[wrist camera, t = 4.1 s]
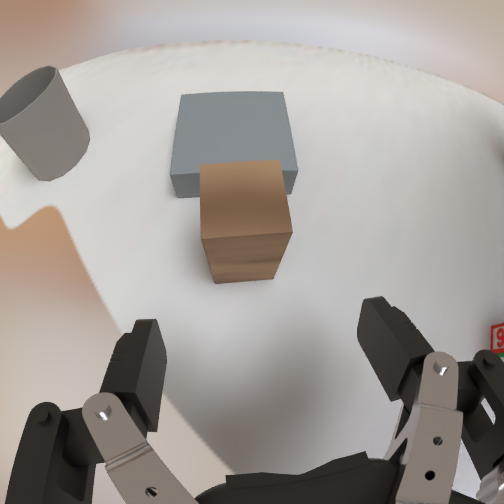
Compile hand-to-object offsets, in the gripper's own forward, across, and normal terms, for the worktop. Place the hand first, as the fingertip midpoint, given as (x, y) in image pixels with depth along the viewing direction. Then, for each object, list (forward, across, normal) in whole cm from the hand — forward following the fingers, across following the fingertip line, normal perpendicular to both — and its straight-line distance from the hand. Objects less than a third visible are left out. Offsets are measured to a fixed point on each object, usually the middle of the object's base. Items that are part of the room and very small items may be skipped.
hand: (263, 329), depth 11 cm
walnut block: (+13, 0, +3) cm, 13 cm away
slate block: (+20, 0, -4) cm, 21 cm away
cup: (+23, +20, -7) cm, 32 cm away
